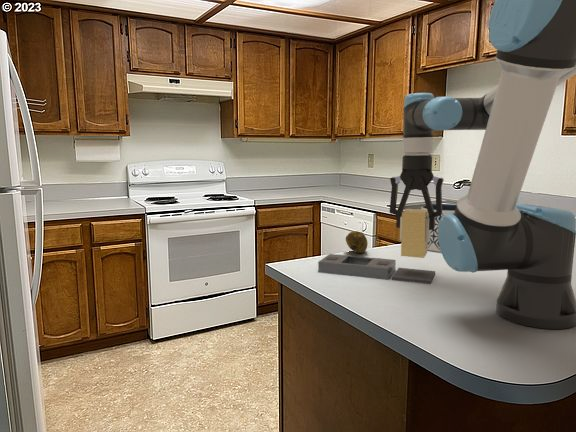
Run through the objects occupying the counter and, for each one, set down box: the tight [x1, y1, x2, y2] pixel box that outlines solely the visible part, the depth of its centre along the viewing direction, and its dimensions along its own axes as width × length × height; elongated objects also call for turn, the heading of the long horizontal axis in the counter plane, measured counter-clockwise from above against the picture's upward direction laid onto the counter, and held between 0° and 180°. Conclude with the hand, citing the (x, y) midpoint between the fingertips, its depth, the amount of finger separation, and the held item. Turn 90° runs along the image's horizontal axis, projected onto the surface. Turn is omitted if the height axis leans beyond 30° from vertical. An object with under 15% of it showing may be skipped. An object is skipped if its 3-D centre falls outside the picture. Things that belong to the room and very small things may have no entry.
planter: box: [420, 203, 457, 253], centre depth 155 cm, size 16×16×14 cm
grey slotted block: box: [317, 253, 397, 280], centre depth 129 cm, size 20×10×3 cm, turn 65°
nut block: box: [400, 208, 429, 259], centre depth 121 cm, size 6×6×12 cm
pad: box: [391, 267, 436, 285], centre depth 123 cm, size 10×10×1 cm
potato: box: [345, 230, 369, 254], centre depth 150 cm, size 8×13×8 cm, turn 155°
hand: (414, 240), depth 122 cm, fingers closed on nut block, 6 cm apart
